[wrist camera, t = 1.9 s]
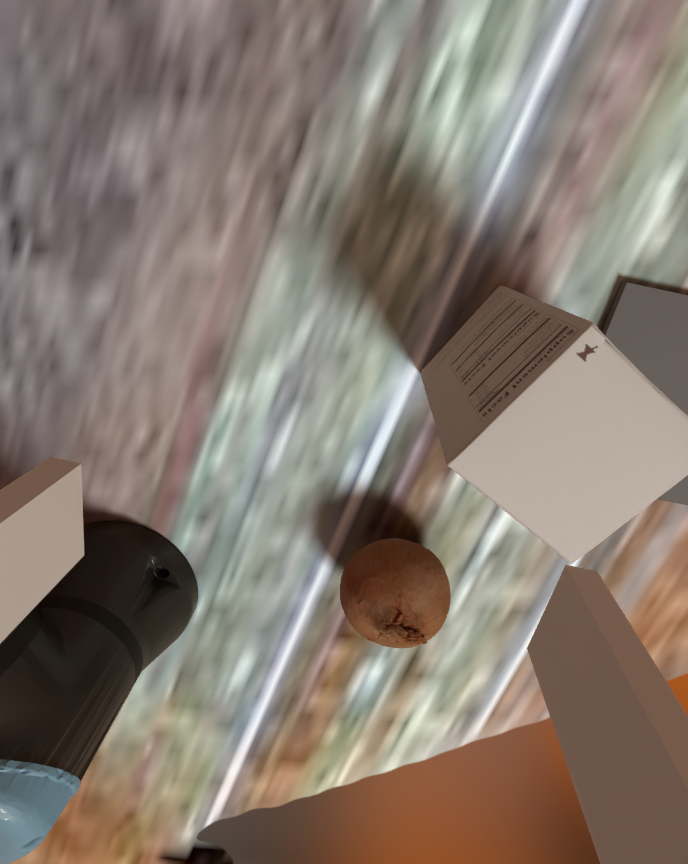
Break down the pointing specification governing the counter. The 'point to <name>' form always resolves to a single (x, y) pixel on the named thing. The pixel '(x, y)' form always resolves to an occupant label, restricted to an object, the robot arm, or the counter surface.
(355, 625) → the onion
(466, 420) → the supplement box
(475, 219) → the counter surface
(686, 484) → the mat
